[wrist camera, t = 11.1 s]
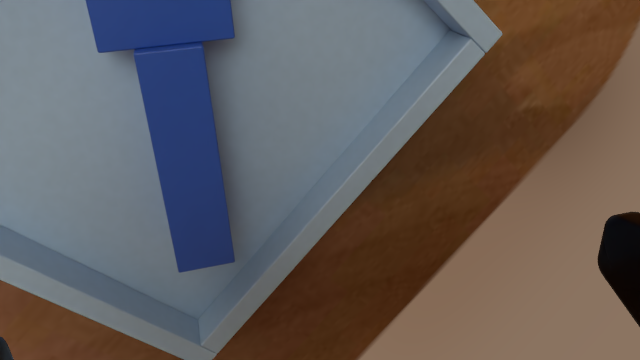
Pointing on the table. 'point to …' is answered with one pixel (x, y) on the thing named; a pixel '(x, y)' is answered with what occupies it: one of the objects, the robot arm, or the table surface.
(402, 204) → the table surface
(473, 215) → the table surface
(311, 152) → the blue tray
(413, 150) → the table surface
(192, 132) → the blue stepped bar
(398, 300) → the table surface
